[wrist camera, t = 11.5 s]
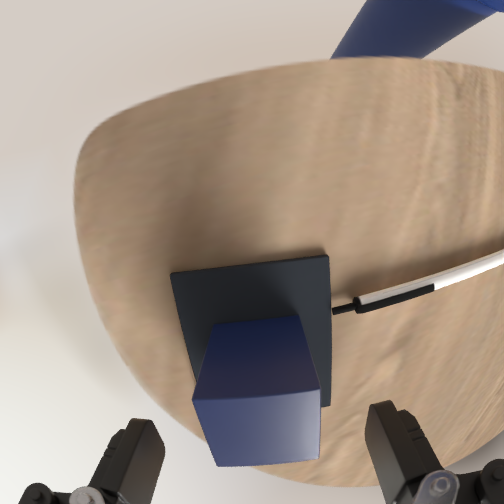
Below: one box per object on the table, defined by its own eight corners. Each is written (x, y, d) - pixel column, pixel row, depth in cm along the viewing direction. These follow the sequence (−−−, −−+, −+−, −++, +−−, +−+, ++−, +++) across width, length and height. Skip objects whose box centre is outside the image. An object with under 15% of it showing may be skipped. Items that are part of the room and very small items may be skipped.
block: (213, 323, 15) (190, 399, 9) (299, 314, 15) (321, 388, 9) (227, 388, 16) (216, 467, 10) (303, 381, 16) (319, 459, 10)
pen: (329, 300, 15) (334, 309, 14) (540, 231, 13) (549, 234, 12) (331, 315, 15) (336, 324, 14) (539, 242, 14) (549, 245, 13)
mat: (171, 272, 15) (169, 274, 14) (327, 254, 14) (329, 256, 14) (208, 413, 17) (207, 417, 16) (329, 402, 16) (330, 406, 16)
